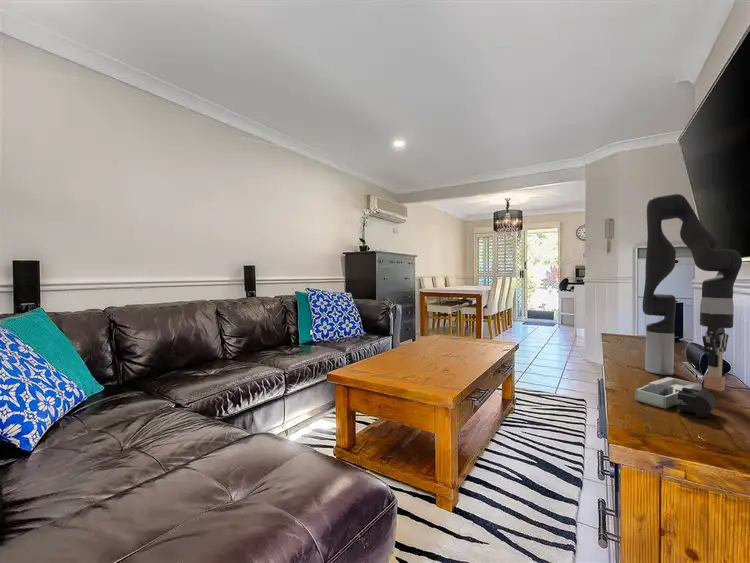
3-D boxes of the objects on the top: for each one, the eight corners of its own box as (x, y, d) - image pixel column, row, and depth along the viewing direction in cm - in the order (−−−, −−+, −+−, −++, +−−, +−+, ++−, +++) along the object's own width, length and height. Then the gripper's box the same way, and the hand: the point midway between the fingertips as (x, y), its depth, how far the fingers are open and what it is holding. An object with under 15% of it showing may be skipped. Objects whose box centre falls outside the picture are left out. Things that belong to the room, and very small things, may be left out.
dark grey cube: (650, 385, 112) (644, 386, 110) (665, 388, 109) (659, 390, 107) (650, 397, 112) (644, 399, 110) (665, 401, 109) (659, 403, 107)
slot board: (663, 386, 125) (663, 376, 125) (707, 397, 114) (707, 385, 114) (643, 393, 117) (643, 381, 117) (688, 404, 107) (688, 392, 107)
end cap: (710, 422, 94) (711, 398, 94) (676, 414, 100) (677, 391, 100) (715, 413, 100) (716, 390, 100) (683, 406, 106) (683, 384, 106)
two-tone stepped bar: (707, 386, 111) (709, 349, 111) (724, 389, 107) (726, 352, 107) (703, 387, 109) (705, 350, 109) (720, 391, 106) (722, 353, 106)
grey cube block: (658, 395, 114) (658, 383, 114) (673, 399, 110) (673, 387, 110) (652, 397, 112) (652, 385, 112) (667, 401, 108) (667, 389, 108)
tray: (650, 395, 116) (650, 384, 116) (680, 402, 109) (680, 391, 109) (635, 400, 111) (635, 389, 110) (665, 408, 104) (665, 397, 104)
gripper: (709, 310, 115) (707, 361, 115) (692, 311, 108) (690, 365, 108) (740, 312, 108) (739, 366, 108) (724, 314, 101) (723, 371, 102)
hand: (714, 365), depth 108 cm, fingers closed on two-tone stepped bar, 2 cm apart
